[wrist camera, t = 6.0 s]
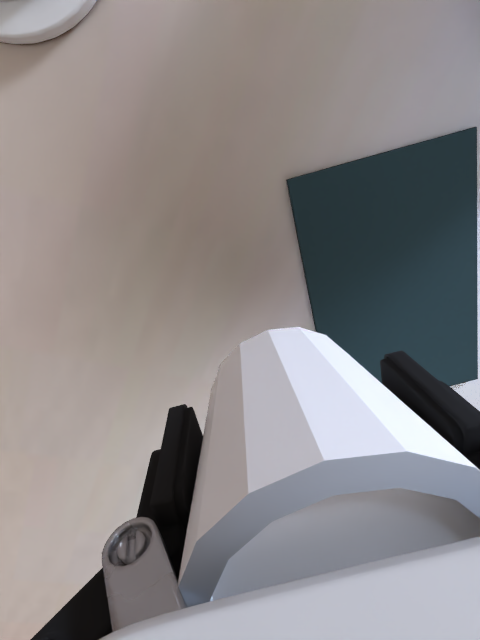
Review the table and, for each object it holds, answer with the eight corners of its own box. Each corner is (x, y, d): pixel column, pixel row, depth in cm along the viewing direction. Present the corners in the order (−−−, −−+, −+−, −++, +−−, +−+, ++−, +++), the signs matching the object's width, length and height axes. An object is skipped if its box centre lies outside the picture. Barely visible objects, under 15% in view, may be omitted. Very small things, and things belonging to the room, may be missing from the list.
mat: (331, 414, 30) (333, 416, 30) (286, 179, 23) (287, 179, 23) (474, 376, 30) (477, 379, 30) (472, 127, 23) (477, 126, 22)
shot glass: (407, 360, 13) (609, 535, 6) (308, 485, 15) (384, 719, 8) (253, 275, 11) (309, 391, 5) (163, 427, 13) (114, 661, 7)
